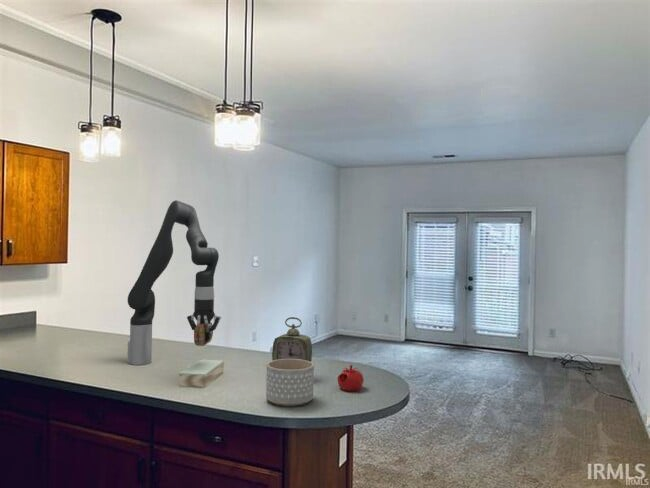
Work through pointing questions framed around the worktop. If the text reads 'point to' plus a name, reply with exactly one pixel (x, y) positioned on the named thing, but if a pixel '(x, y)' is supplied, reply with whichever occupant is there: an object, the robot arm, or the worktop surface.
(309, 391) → the planter
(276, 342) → the tabletop clock
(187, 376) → the plinth
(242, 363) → the worktop surface
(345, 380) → the pomegranate
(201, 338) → the tin
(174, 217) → the robot arm
